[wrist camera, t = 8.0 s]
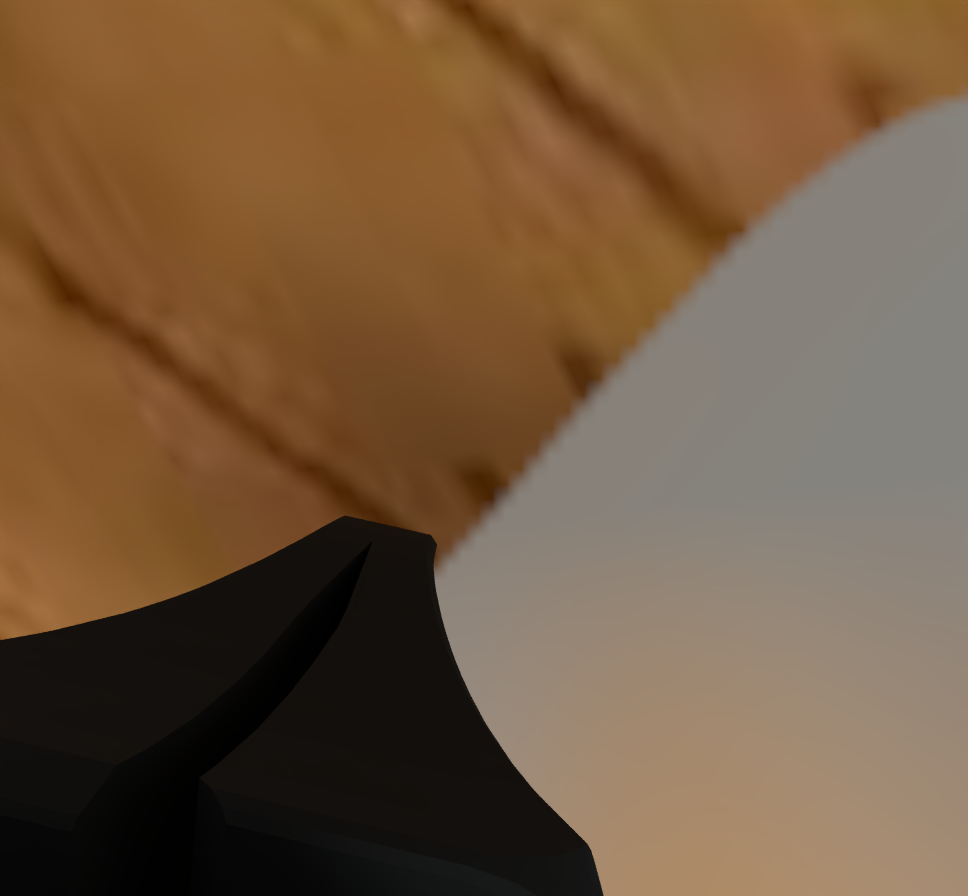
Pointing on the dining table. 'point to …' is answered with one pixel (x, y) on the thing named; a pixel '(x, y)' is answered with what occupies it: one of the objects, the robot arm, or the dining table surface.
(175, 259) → the dining table surface
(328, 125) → the dining table surface
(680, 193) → the dining table surface
